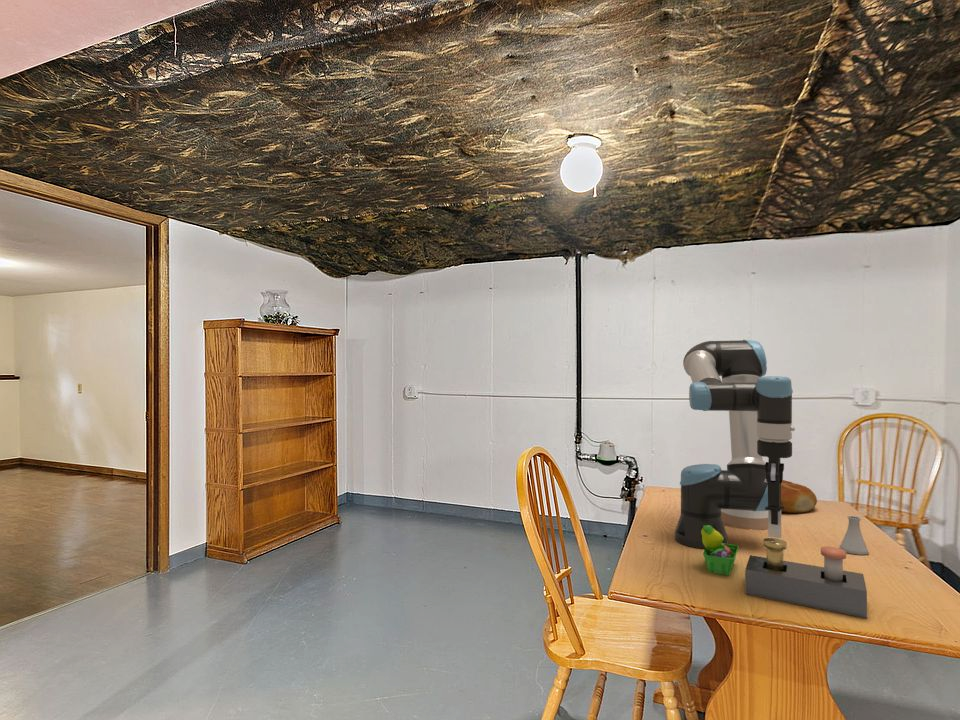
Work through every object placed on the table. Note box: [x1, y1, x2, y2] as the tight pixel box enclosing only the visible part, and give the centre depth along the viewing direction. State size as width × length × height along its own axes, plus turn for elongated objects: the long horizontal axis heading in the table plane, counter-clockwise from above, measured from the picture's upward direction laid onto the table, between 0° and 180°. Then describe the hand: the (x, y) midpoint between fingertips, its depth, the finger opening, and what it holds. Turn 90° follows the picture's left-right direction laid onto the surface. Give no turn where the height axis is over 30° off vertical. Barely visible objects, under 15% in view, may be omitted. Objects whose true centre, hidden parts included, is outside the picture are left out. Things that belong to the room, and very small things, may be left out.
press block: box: [744, 554, 868, 619], centre depth 130 cm, size 24×11×6 cm, turn 58°
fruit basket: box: [701, 525, 740, 576], centre depth 149 cm, size 11×9×11 cm
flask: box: [839, 515, 870, 556], centre depth 160 cm, size 7×7×10 cm
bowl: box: [721, 509, 768, 531], centre depth 188 cm, size 17×17×8 cm
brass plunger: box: [762, 537, 788, 572], centre depth 134 cm, size 5×5×8 cm
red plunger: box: [820, 545, 847, 582], centre depth 127 cm, size 5×5×8 cm
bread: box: [781, 479, 818, 514], centre depth 206 cm, size 23×23×10 cm
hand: (774, 536), depth 133 cm, fingers closed
